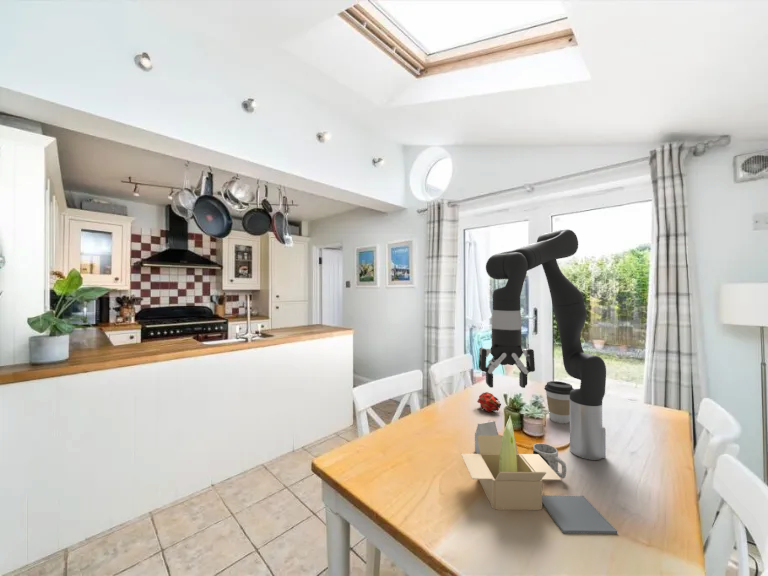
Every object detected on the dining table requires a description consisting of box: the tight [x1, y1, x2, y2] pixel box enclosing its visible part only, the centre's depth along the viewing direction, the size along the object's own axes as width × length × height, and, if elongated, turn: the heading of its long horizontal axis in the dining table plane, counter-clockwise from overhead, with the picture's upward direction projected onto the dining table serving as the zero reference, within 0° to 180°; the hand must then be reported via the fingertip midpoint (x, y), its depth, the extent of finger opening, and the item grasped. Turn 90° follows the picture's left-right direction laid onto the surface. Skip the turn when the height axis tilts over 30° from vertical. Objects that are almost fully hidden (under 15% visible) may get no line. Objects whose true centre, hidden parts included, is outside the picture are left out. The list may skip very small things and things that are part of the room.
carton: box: [460, 435, 563, 511], centre depth 84 cm, size 22×19×11 cm
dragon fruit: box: [476, 391, 502, 414], centre depth 142 cm, size 8×8×12 cm
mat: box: [542, 494, 618, 535], centre depth 76 cm, size 12×12×1 cm
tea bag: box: [474, 420, 500, 454], centre depth 105 cm, size 4×7×10 cm, turn 110°
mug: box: [532, 442, 567, 479], centre depth 93 cm, size 10×7×7 cm, turn 23°
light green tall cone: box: [499, 416, 517, 472], centre depth 84 cm, size 6×5×20 cm
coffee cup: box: [543, 380, 574, 424], centre depth 132 cm, size 11×11×15 cm
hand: (506, 386), depth 85 cm, fingers open, 8 cm apart
